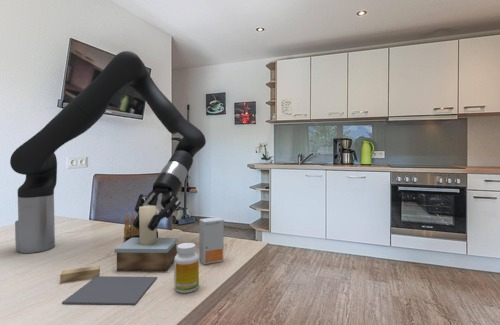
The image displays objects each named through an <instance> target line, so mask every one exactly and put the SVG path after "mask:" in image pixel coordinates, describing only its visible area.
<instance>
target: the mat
mask: <svg viewBox="0 0 500 325" xmlns="http://www.w3.org/2000/svg"><path fill="white" fill-rule="evenodd" d="M157 279H158V276H120V275H119V276H117V275H116V276H107V275H105V276H104V275H101V276H100V275H99V276H96V277H95V278H93V279H90V280H89V281H88V282H87V283H86V284H84V285H83V286H82V287H80V288H79V289H77V290H76V291H74V293H72V294H71V295H69V296H68V297H67V298H65V299H64V300H63V301H61V305H90V306H91V305H94V306H95V305H96V306H97V305H98V306H99V305H100V306H104V305H105V306H106V305H107V306H110V305H111V306H113V305H114V306H136V305H137V304H138V303H139V301H140V300H141V299H142V298H143V296H144V295H145V294H146V292H147V291H148V290H149V289H150V288H151V286H152V285H153V284H154V283H155V282H156V280H157Z"/></svg>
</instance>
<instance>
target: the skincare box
mask: <svg viewBox="0 0 500 325" xmlns="http://www.w3.org/2000/svg"><path fill="white" fill-rule="evenodd" d="M198 222H199V227H198V228H199V235H198V236H199V237H198V238H199V242H198V244H199V245H198V246H199V250H198V253H199V254H198V257H199V261H200V263H202V265H204V266H205V265H209V264H214V263H220V262H224V243H225V242H224V233H225V232H224V228H225V227H224V225H225V224H224V223H225V222H224V219H223V218H221V217H219V216H218V217H216V216H215V217H206V218H200V219H199V220H198Z"/></svg>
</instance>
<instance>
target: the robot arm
mask: <svg viewBox="0 0 500 325" xmlns="http://www.w3.org/2000/svg"><path fill="white" fill-rule="evenodd" d="M126 85H129V86H130V87H131V88H132V89H133V90H135V91H136V92H137V93H138V94H139V96H141V97H142V99H143V100H144V101H145V102H146V103H147V105H148V106H149V108H150V109H151V111H152V112H153V114H154V115H155V117H156V118H157V119H158V121H160V123H161V124H162V126H164V128H165V129H166V130H167V132H168V133H170V134H172V135H174V134H179V135H180V136H182V138H181V139H180V140H179V142H178V143H177V145H176V146H175V149H174V152H173V154H172V155H171V157H170V158H169V160H168V162H167V163H166V164H165V166H164V167H163V168H162V170H161V171H160V173H159V174H158V176H157V178H156V179H155V181H154V183H153V184H152V190H150V192H149V193H148V194H146V195H145V194H143V193H140V194H139V196H138V198H137V201H136V203H135V207H134V211H135V213H137V214H138V215H137V214H136V217H135V218H134V219H135V221H134V222H133V226H134V227H135V228H136V229H139V207H141V206H147V205H154V206H156V213H155V214H156V215H154V216H153V217H152V219H151V221H150V223H149V224H148V228H149V229H150V230H151V231H154V229H156V228H157V229H158V226H159V224H160V222H161V221H162V220H163V219H164V218H166V219H169V218H170V217H171V216H172V214H174V212H175V211H176V210H177V209H178V207H179V206H180V204H182V202H181V200H180V199H179V198H178V196H177V195H178V193H179V192H180V190H181V188H182V186H183V184H184V182H185V180H186V178H187V176H188V173H189V171H191V170H190V169H191V168H192V165H193V163H194V157H195V156H196V155H197V153H198V152H200V150H202V149H203V148H204V147H205V146H206V143H207V142H206V141H207V140H206V137H205V135H204V133H203V132H202V131H201V129H199V128H198V127H196V125H194V124H193V123H191V121H189V120H187V119H186V118H185V117H184V116H183V114H182V113H181V112H180V111H179V110H178V108H176V106H175V105H174V104H173V103H172V102H171V100H170V99H169V98H168V97H167V96H166V95H165V94H164V93H163V92H162V91H161V90H160V89H159V87H158V86H157V84H156V83H155V82H154V80H153V78H152V76H151V75H150V74H149V71H148V70H147V67H146V65H145V62H144V61H143V60H142V59H141V58H140V57H139V55H138V54H136V53H135V52H133V51H130V50H125V51H121V52H118V53H117V54H116V55H115V56H114V57H113V58H112V59H111V60H110V61H109V63H108V64H107V65H106V66H105V67H104V68H103V69H102V71H101V72H100V73H99V74H98V75H97V77H95V79H94V80H93V81H91V82H90V83H89V84H88V85H86V87H85V88H83V90H82V91H80V92H79V94H77V95H76V96H74V98H72V99H71V100H70V101H69V102H68V103H67V104H66V105H65V106H64V107H63V108H62V109H61V110H60V111H59V112H58V113H57V114H56V115H55V116H54V117H53V118H52V119H51V120H50V121H48V122H47V124H46V125H45V126H43V128H42V129H40V130H39V131H38V132H37V133H36V134H34V135H33V136H31V138H29V139H27V140H26V141H25V142H24V143H22V144H21V145H19V147H17V148H16V149H15V150H14V151H13V152H12V154H11V156H10V159H9V162H10V163H9V164H10V166H11V169H12V171H14V173H17V174H18V175H19V174H20V175H25V180H24V181H23V183H22V184H21V185H20V186H19V187H18V188H17V216H18V217H17V219H18V220H15V222H14V232H15V234H14V236H15V237H14V238H15V252H18V253H21V254H33V253H39V252H44V251H49V250H50V249H53V248H54V247H55V246H56V238H55V236H56V235H55V234H56V231H55V229H56V228H55V226H56V224H55V195H54V194H55V188H56V186H57V181H58V180H57V179H58V160H57V155H56V151H58V149H60V147H62V146H64V145H65V144H67V143H68V142H70V141H72V140H74V139H76V138H78V137H79V136H81V135H83V134H84V133H86V132H87V131H88V130H89V129H91V128H92V127H93V126H94V125H95V124H96V123H97V122H98V121H99V120H100V119H101V118H102V117H103V115H104V114H105V112H106V111H107V109H108V107H109V105H110V103H111V101H112V100H113V98H114V97H115V95H116V94H118V93H119V91H120V90H122V89H123V88H124V87H125V86H126Z"/></svg>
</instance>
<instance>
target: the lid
mask: <svg viewBox="0 0 500 325" xmlns="http://www.w3.org/2000/svg"><path fill="white" fill-rule="evenodd" d="M156 209H157V208H156V206H154V205H147V206H141V207H139V238H130V239H129V240H127V241H126V242H124V241H123V242H122V243H121V244H119V245H118V246H117V247H115V248H114V253H116V254H117V253H167V252H168V251H169V250H170V249H171V248H172V247H173V246H174V245H175V244H176V245H177V243H178V241H179V239H178V237H158V238H157V231H158V230H157V231H156V229H154V231H151V230H150V229H149V228H148V224H149V223H150V221H151V219H152V217H153V216H154V215H156V214H155V213H156Z"/></svg>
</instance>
